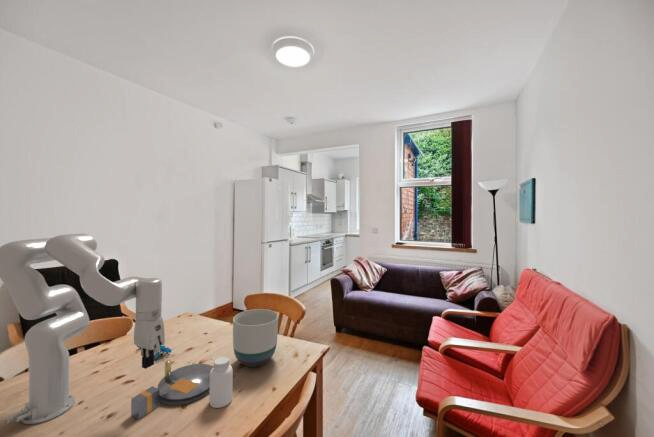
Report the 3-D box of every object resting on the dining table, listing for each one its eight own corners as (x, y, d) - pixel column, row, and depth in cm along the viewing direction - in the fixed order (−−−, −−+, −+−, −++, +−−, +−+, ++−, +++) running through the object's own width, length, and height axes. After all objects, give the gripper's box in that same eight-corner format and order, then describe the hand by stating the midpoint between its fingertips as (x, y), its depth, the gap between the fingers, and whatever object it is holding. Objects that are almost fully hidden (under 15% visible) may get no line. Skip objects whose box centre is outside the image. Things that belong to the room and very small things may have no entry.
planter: (285, 356, 127) (286, 313, 127) (258, 380, 109) (259, 329, 108) (252, 347, 136) (253, 306, 135) (222, 367, 117) (223, 320, 117)
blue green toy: (177, 350, 128) (162, 342, 122) (170, 363, 124) (154, 355, 118) (160, 349, 132) (145, 341, 125) (153, 362, 128) (137, 354, 121)
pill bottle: (225, 390, 102) (225, 352, 102) (236, 400, 97) (237, 360, 97) (205, 401, 96) (205, 361, 96) (216, 412, 91) (216, 369, 90)
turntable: (224, 385, 103) (224, 362, 103) (162, 409, 89) (162, 383, 89) (208, 361, 119) (208, 342, 119) (153, 380, 105) (154, 357, 105)
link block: (138, 419, 87) (138, 401, 87) (131, 416, 88) (131, 398, 88) (159, 406, 93) (159, 389, 93) (151, 402, 95) (152, 386, 95)
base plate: (183, 413, 90) (183, 410, 90) (142, 395, 98) (142, 392, 98) (230, 377, 110) (230, 375, 110) (192, 365, 119) (192, 363, 119)
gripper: (173, 314, 92) (172, 365, 92) (145, 307, 98) (145, 356, 98) (152, 321, 85) (151, 377, 85) (123, 314, 91) (122, 366, 91)
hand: (148, 366), depth 91 cm, fingers closed
